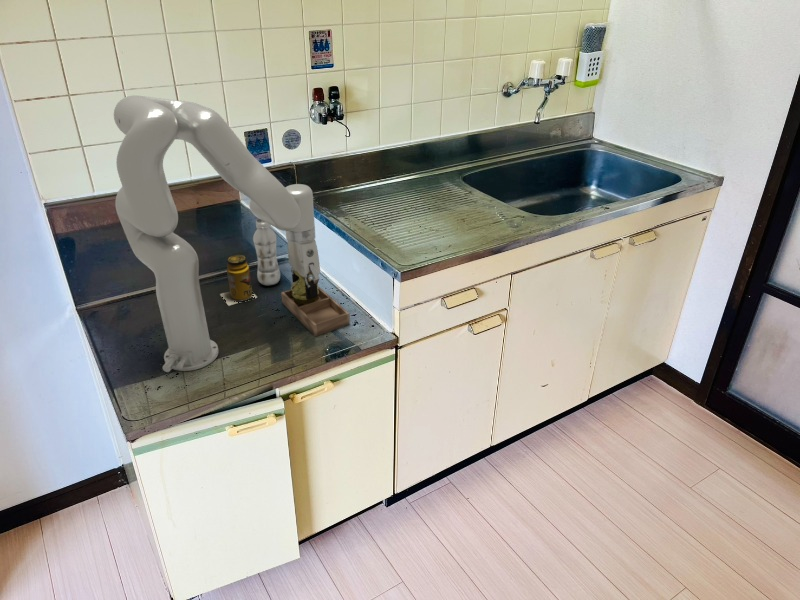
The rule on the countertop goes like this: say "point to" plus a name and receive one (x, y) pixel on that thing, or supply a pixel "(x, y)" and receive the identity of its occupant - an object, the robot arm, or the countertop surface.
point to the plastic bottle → (266, 254)
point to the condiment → (238, 280)
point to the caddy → (318, 313)
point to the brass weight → (301, 291)
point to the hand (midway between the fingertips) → (305, 291)
